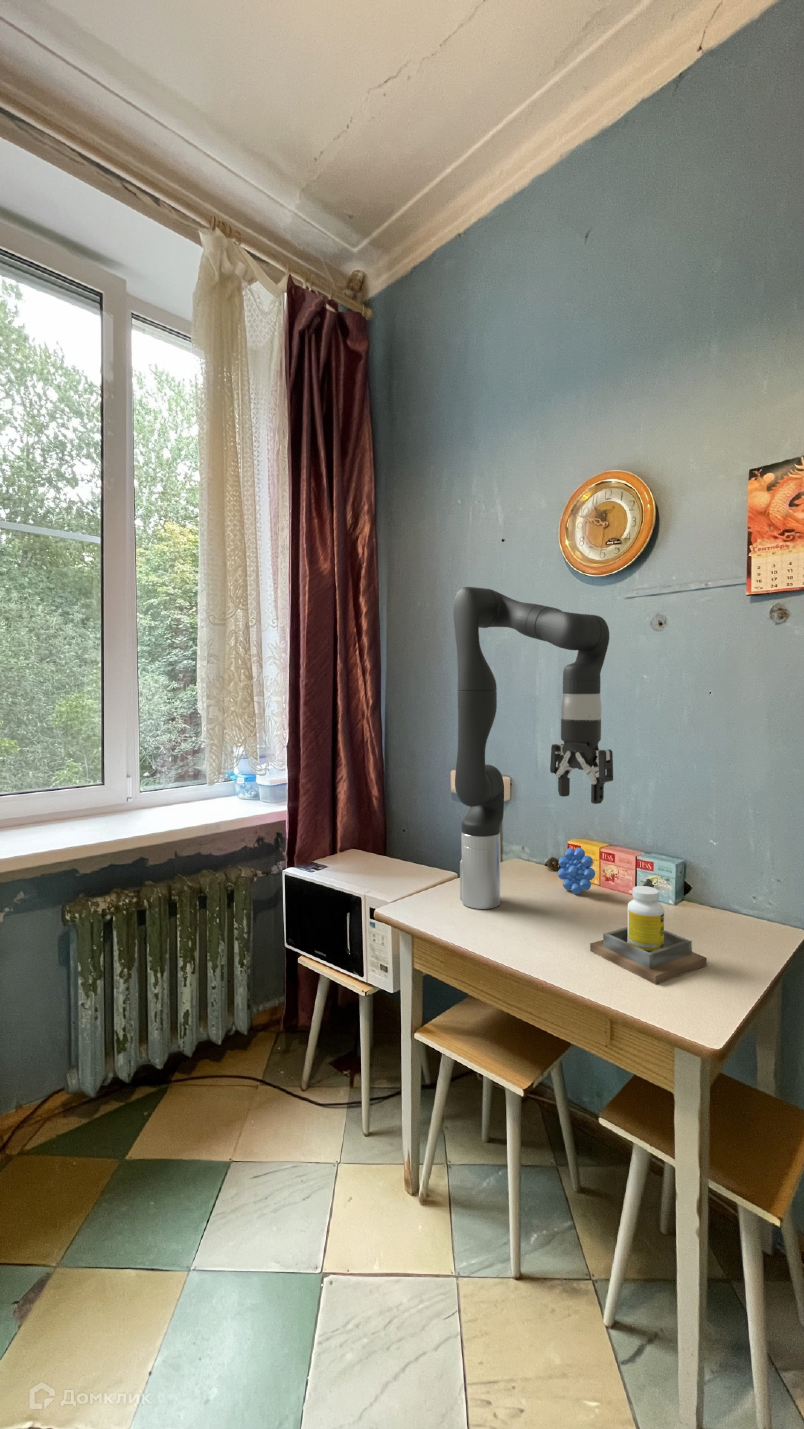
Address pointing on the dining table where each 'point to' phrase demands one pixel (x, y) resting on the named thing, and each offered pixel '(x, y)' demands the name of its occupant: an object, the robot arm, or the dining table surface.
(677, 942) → the collar board
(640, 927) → the pill bottle
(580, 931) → the dining table surface
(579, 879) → the grapes
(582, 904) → the dining table surface
